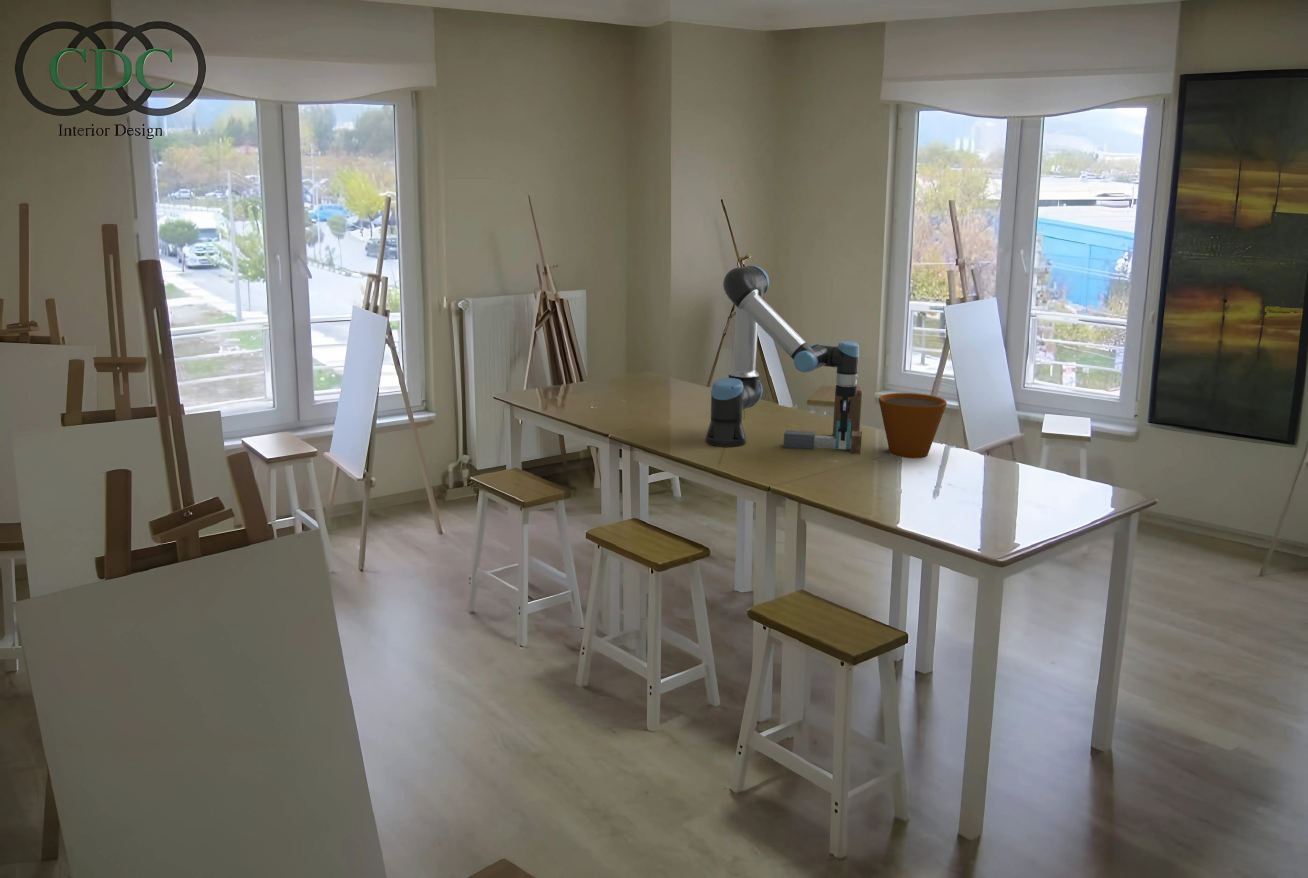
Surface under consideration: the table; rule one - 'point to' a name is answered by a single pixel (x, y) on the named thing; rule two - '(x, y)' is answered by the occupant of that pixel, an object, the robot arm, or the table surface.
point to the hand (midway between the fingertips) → (842, 446)
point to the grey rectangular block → (799, 439)
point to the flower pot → (911, 422)
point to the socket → (856, 442)
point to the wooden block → (853, 413)
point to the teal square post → (833, 438)
